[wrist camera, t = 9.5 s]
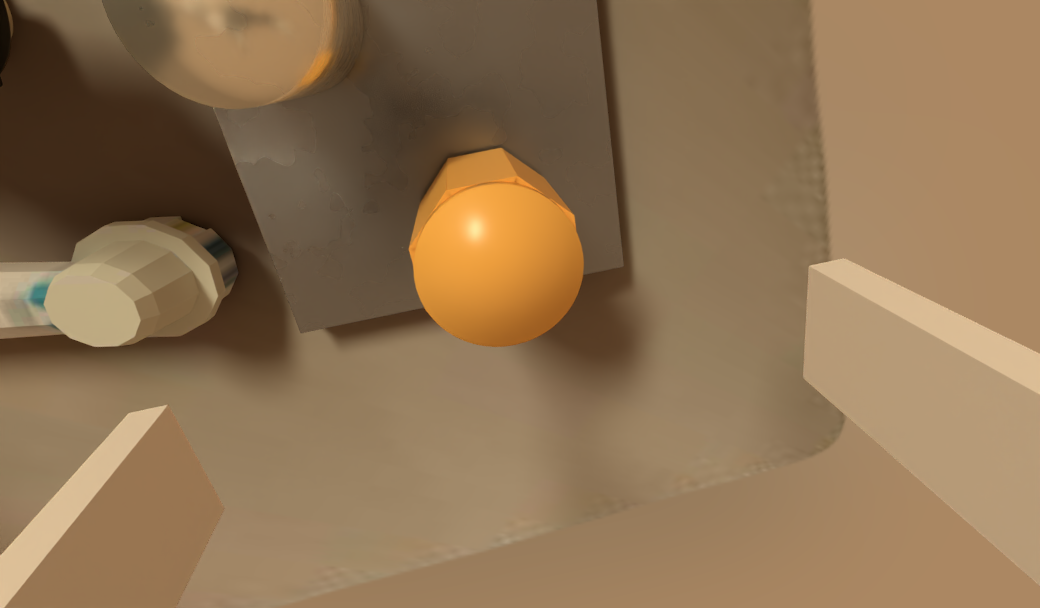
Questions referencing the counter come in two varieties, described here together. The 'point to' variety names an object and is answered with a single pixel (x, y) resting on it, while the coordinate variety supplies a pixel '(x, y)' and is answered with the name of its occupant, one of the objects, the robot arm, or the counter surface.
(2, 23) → the pneumatic valve
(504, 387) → the counter surface
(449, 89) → the grey slab with post
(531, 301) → the orange acorn nut
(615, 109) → the counter surface
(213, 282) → the white handheld device
